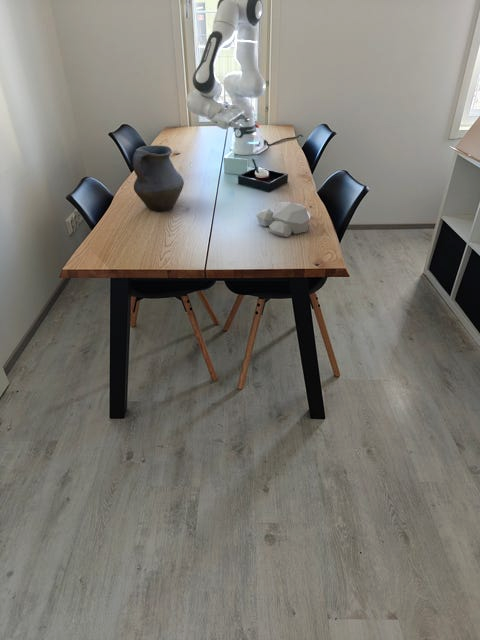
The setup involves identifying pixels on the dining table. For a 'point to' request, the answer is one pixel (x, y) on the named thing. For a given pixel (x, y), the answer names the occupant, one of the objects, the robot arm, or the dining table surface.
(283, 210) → the rock
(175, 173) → the pitcher
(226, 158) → the pale cyan corner bracket
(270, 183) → the tray
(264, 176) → the cocoa
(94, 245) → the dining table surface
